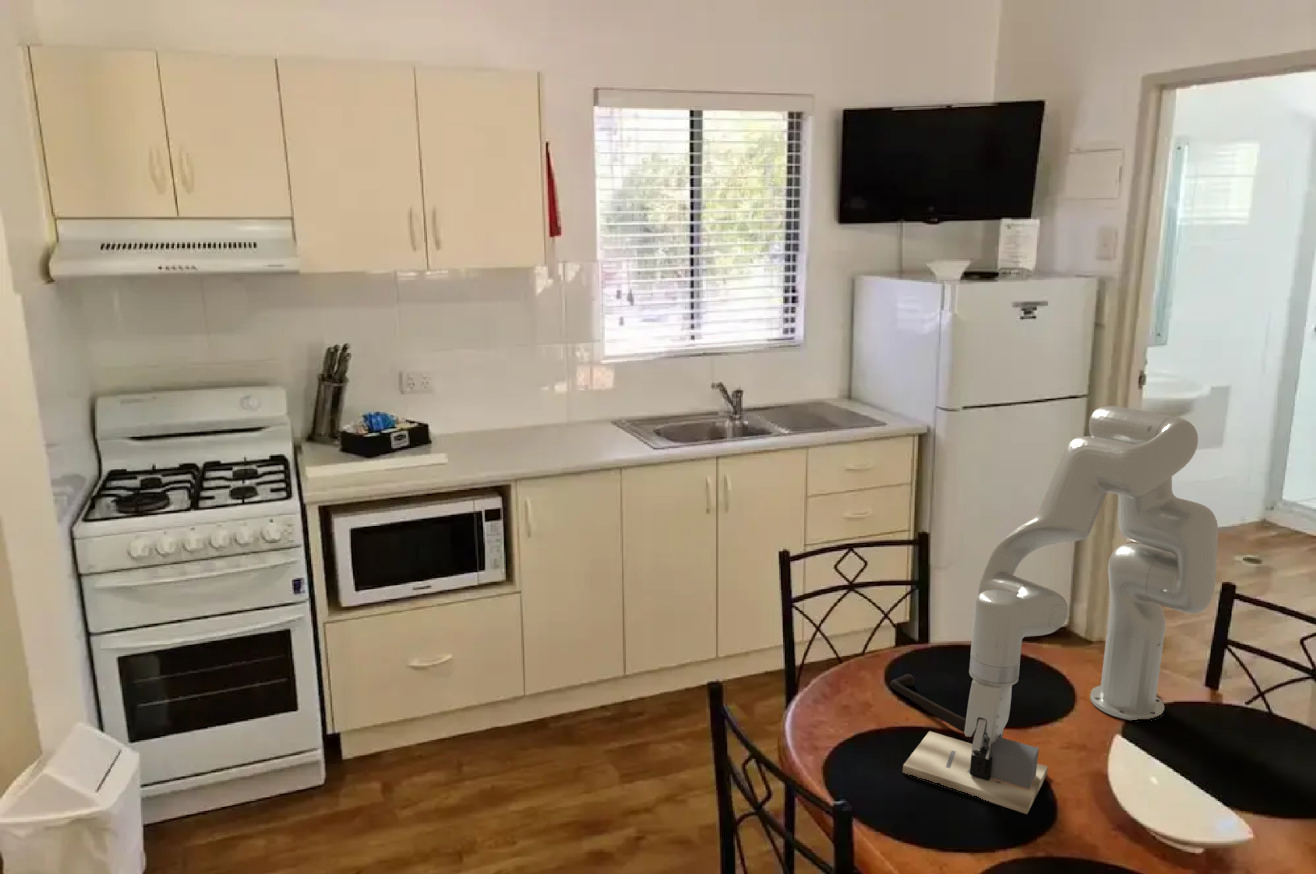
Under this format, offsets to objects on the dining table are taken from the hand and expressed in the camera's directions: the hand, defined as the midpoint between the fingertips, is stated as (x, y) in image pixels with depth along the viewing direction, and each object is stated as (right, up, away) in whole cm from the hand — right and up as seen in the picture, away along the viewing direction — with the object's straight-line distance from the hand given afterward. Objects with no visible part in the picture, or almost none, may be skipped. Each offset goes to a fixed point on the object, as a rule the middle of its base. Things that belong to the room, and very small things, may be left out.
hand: (985, 767), depth 160 cm
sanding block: (+3, -1, -1) cm, 3 cm away
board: (-1, -2, +1) cm, 2 cm away
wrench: (0, +2, +18) cm, 18 cm away
